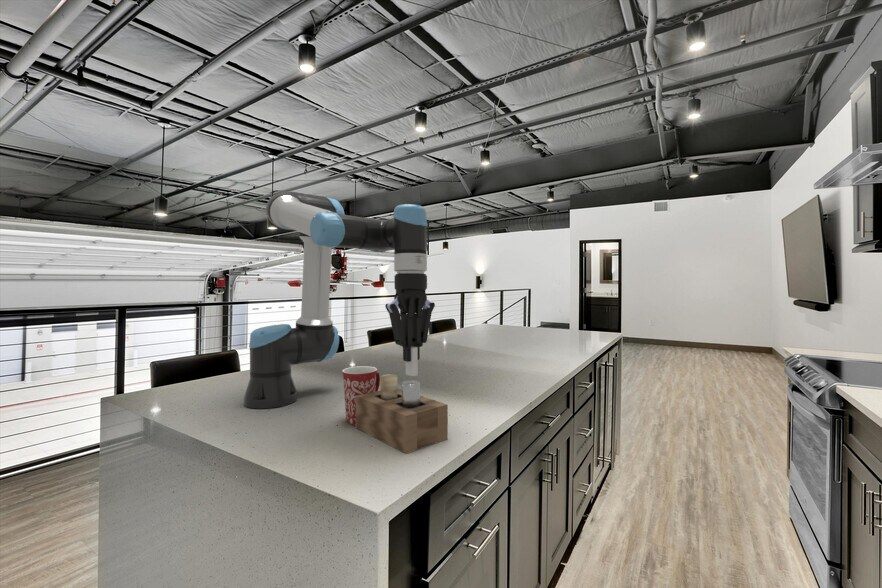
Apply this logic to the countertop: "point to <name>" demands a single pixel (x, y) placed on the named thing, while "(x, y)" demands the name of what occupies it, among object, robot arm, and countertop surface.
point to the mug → (358, 387)
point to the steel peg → (410, 394)
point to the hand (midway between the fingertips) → (411, 374)
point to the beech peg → (389, 386)
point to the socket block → (402, 421)
